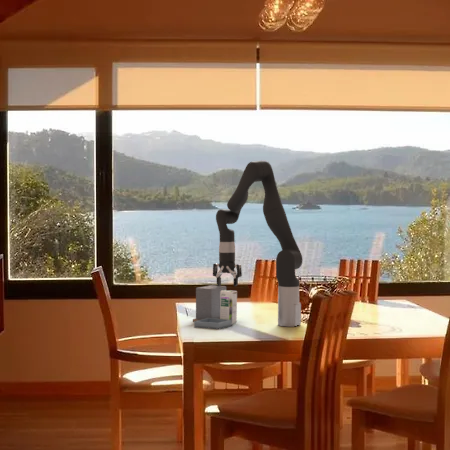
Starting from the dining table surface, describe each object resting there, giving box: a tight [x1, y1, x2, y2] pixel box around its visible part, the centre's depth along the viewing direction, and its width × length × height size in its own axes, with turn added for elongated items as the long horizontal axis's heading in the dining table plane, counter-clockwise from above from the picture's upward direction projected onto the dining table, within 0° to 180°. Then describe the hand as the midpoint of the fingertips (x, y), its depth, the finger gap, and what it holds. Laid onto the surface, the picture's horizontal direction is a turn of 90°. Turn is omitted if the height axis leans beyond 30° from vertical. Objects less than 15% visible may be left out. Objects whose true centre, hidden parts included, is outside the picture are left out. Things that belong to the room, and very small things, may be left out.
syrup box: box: [220, 289, 238, 325], centre depth 367 cm, size 6×6×14 cm
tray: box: [193, 318, 233, 330], centre depth 357 cm, size 12×12×2 cm
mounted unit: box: [192, 284, 227, 322], centre depth 376 cm, size 10×16×15 cm, turn 152°
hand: (227, 285), depth 389 cm, fingers open, 8 cm apart
